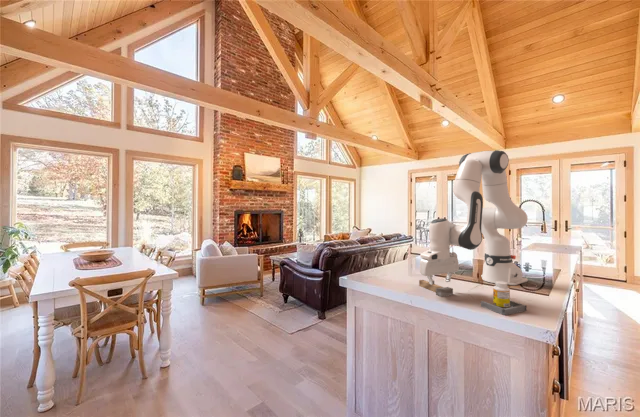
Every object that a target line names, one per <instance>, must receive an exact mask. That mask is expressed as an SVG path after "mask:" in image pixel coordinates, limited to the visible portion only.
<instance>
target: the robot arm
mask: <svg viewBox="0 0 640 417" xmlns="http://www.w3.org/2000/svg"><path fill="white" fill-rule="evenodd" d="M509 161H510V159H509V155H508V153H506V152H505V151H504V150H497V149H496V150H483V151H477V152H472V153H470V152H469V153H465V154H463V156H461V158H460V159H459V161H458V163H459V164H458V166H459V167H458V169H457V171H456V172H457V173H456V175H455V178H454V182H453V185H452V186H453V187H452V192H453V194H454V196H455V197H456V198H457V199H458V200H460V201H462V202H463V203H465V204H466V206H467V215H466V224H465V225H458V224H454V223H453V222H451V221H449V220H448V219H447V218H437V219H436V218H434V219H433V220H432V221H430V224H429V228H428V229H429V230H428V238H429V245H428V246H429V247H428V248H429V249H427V250H425V251H423V252H421V253H420V258H421V259H420V261H419V273H420V275H422V276H425V277H426V278H427V280H428V282H429V284H431V285H433V284H435V280H434V279H433V276H436V275H442V274H446V277H444V280H445V282H446V283H449V282H450V283H451V278H452V276H453V273H456V272H459V269H460V265H459V259H458V255H457V253H456V252H455V251H451V245H452V246H456V247H460V248H463V249H466V250H470V251H472V250H475V249H477V248H478V247H479V246H480V245H481V244H482V240H483V239H484V246H485V247H484V248H485V253H484V256H483V257H484V262H483V266H482V274H481V275H480V277H481V279H482V280H483V281H485V282H488V283H492V284H496V281H503V282H506V283H507V286H508V285H509V286H517V285H520V284H524V283H527V282H528V280H529V279H528V278H526V277H524V276H523V271H522V269H521V268H520V267H519V266H518V265H516V264H515V263H514V262H513V260H516V259H517V257H516V255H514V254H511V242H510V240H509V238H508V237H506V236H504V235H502V234H500V233H499V231H498V229H501V230H503V229H505V230H515V229H522V228H524V227H525V226H526V225H527V223H528V220H529V219H528V215H527V213H526V212H525V210H524V209H522V208H520V207H519V206H517V205H516V203H514V201H513V200H512V199H511V197H510V194H509V188H508V177H507V172H506V169H507V168H508V166H509ZM481 185H482V186H481ZM480 187H482V194H481V192H480V191H481V189H480ZM483 198H484V199H483ZM484 200H485V201H486V202H488V203H491V204H492V205H494V206H495V207H484Z"/></svg>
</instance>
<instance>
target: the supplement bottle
mask: <svg viewBox="0 0 640 417" xmlns="http://www.w3.org/2000/svg"><path fill="white" fill-rule="evenodd" d="M494 284H495V285H494V286H493V289H492V290H493V293H492V295H493V299H492V301H493V302H492V303H493V304H492V305H495V306H498V307H501V308H503V309H505V308H510V307H511V306H510V300H511V292H510V291H511V289H510V287H508V284H507V283H506V282H503V281H496V283H494Z"/></svg>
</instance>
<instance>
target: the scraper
mask: <svg viewBox="0 0 640 417" xmlns="http://www.w3.org/2000/svg"><path fill="white" fill-rule="evenodd" d="M418 286H419V287H421V288H423V289H425V290H429V291H431V292H433V293H435V295H436V297H437V296H438V297H439V298H443V297H449V295H450V296H454V289H453V288H452V287H449V286H441V285H438V284H436V283H434V284H433V285H431V284H429V280H424V279H420V280H418Z"/></svg>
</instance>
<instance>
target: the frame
mask: <svg viewBox="0 0 640 417" xmlns="http://www.w3.org/2000/svg"><path fill="white" fill-rule="evenodd" d="M480 307H481V308H485V309H487V310H490V311H492V312H495V313H497V314H500V315H503V316H507V315H508V316H509V315H512V314H513V315H514V314H517V313H522V312H526V311H527V304H523V303H520V302H517V301H514V300H511V299H510V308H505V309H503V308H501V307H498V306H495V305H493V304H492V303H489V302H487V301H484V300H481V301H480Z"/></svg>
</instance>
